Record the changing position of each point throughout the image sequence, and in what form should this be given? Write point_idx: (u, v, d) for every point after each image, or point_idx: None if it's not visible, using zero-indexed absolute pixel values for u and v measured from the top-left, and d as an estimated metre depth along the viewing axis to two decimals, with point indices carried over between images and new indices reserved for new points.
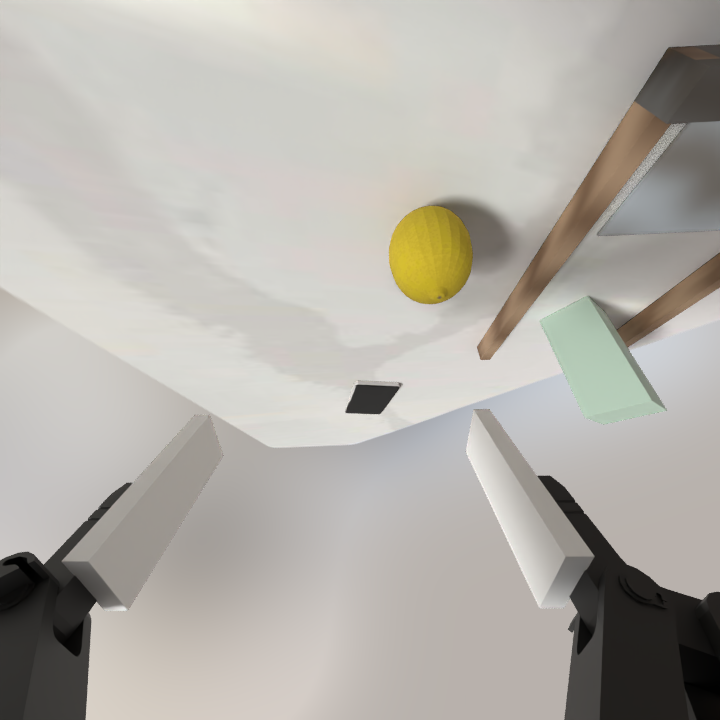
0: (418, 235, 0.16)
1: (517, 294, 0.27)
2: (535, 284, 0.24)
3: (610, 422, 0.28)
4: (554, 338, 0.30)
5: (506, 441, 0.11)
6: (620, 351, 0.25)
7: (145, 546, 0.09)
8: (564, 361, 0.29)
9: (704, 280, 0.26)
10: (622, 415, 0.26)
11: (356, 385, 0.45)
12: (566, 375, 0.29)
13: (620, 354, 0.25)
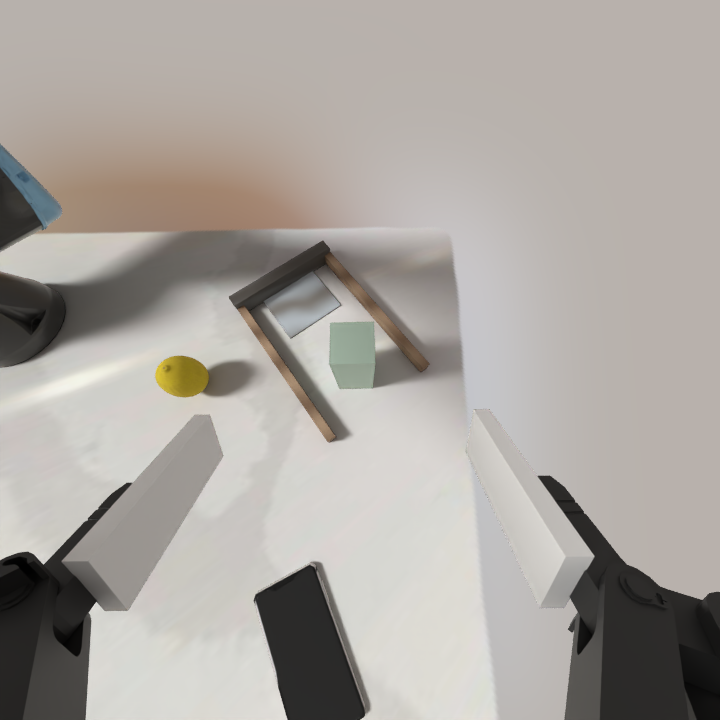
0: None
1: None
2: (275, 364, 0.40)
3: (372, 357, 0.29)
4: None
5: (506, 441, 0.11)
6: None
7: (145, 546, 0.09)
8: None
9: (371, 311, 0.43)
10: (355, 344, 0.30)
11: (255, 599, 0.32)
12: (334, 374, 0.34)
13: None
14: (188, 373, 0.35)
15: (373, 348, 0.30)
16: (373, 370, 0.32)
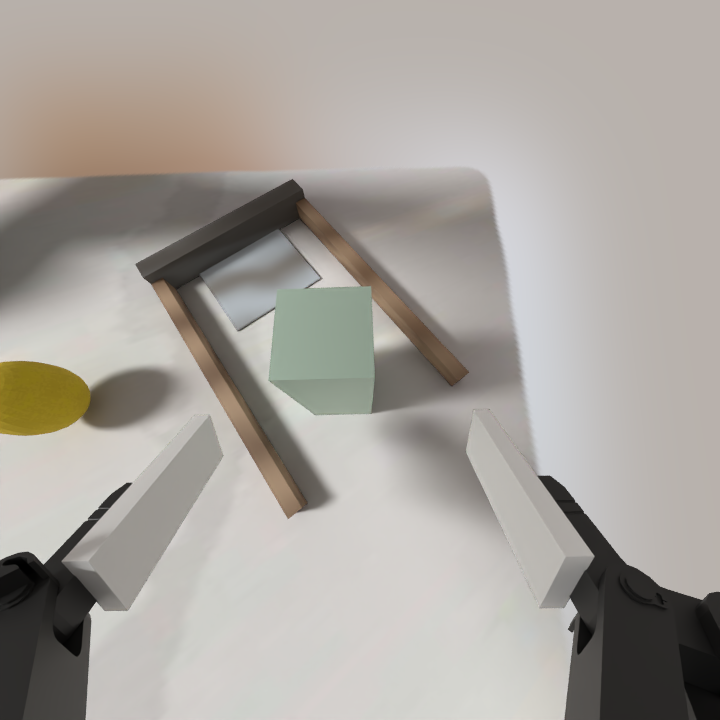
0: None
1: None
2: (205, 375, 0.23)
3: (368, 363, 0.13)
4: None
5: (506, 441, 0.11)
6: None
7: (145, 546, 0.09)
8: None
9: None
10: (329, 335, 0.13)
11: None
12: None
13: None
14: (22, 394, 0.19)
15: (370, 343, 0.13)
16: (371, 390, 0.15)
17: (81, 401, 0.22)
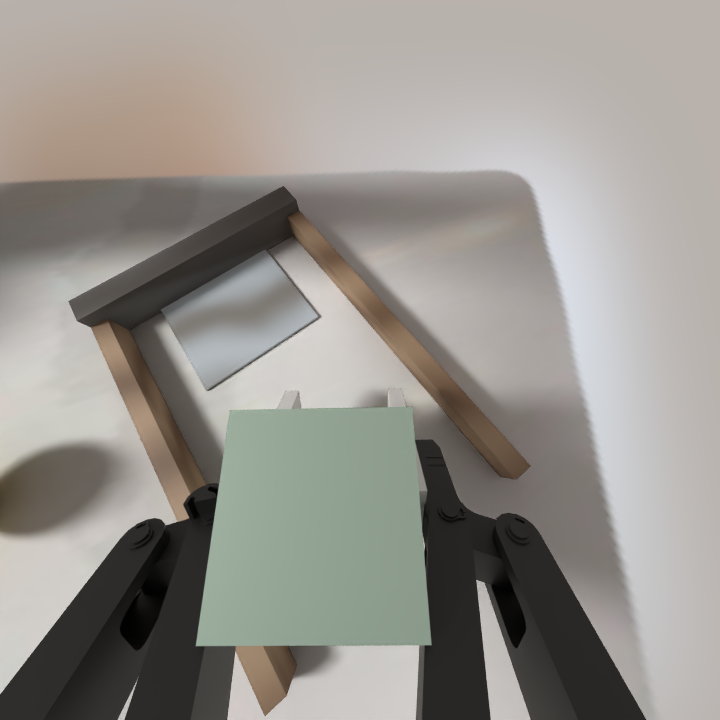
0: None
1: None
2: (154, 465, 0.16)
3: (414, 603, 0.06)
4: None
5: None
6: None
7: None
8: None
9: (383, 331, 0.20)
10: (330, 525, 0.06)
11: None
12: None
13: None
14: None
15: (417, 548, 0.06)
16: None
17: None
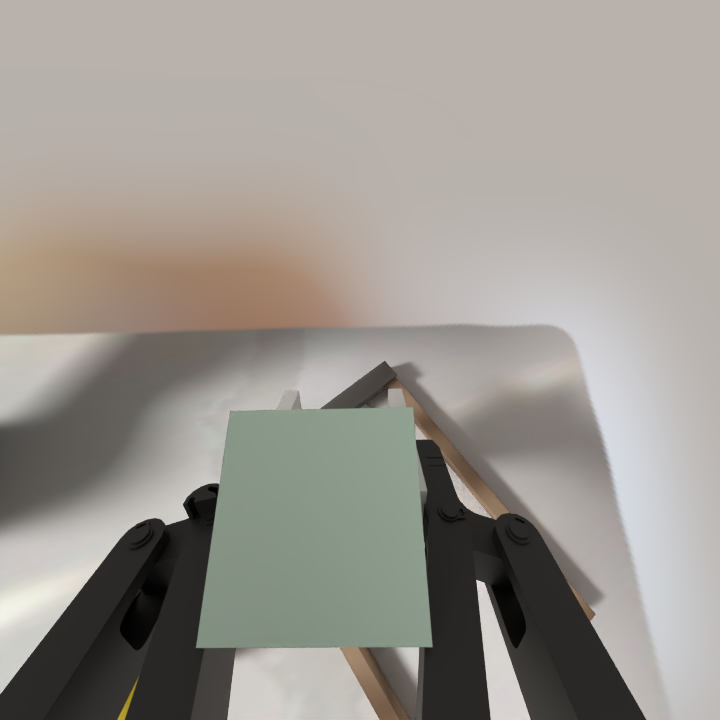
0: None
1: None
2: None
3: (415, 605, 0.06)
4: None
5: None
6: None
7: None
8: None
9: (472, 489, 0.26)
10: (331, 526, 0.06)
11: None
12: None
13: None
14: None
15: (418, 550, 0.06)
16: None
17: None
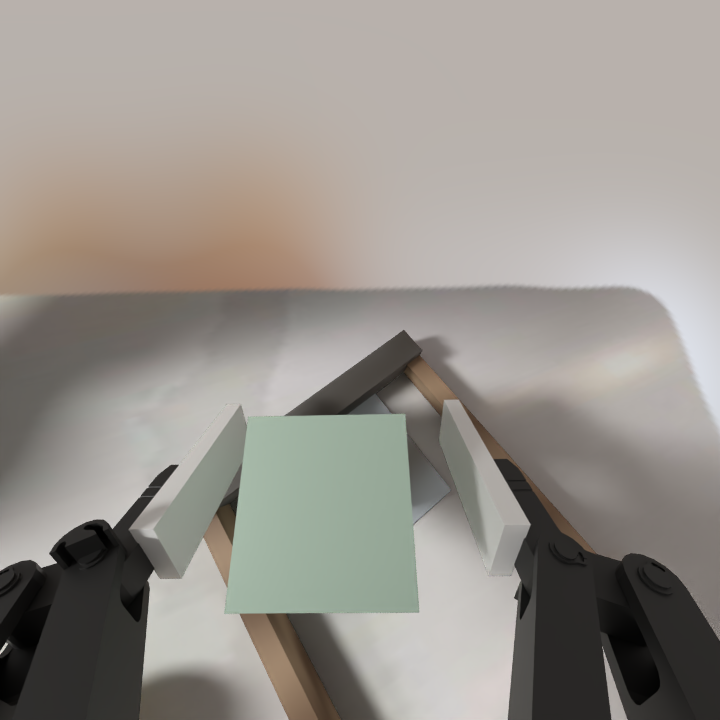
0: None
1: None
2: None
3: (405, 579, 0.07)
4: None
5: (469, 428, 0.12)
6: None
7: (193, 521, 0.10)
8: None
9: None
10: (335, 514, 0.08)
11: None
12: None
13: None
14: None
15: (408, 534, 0.07)
16: None
17: None
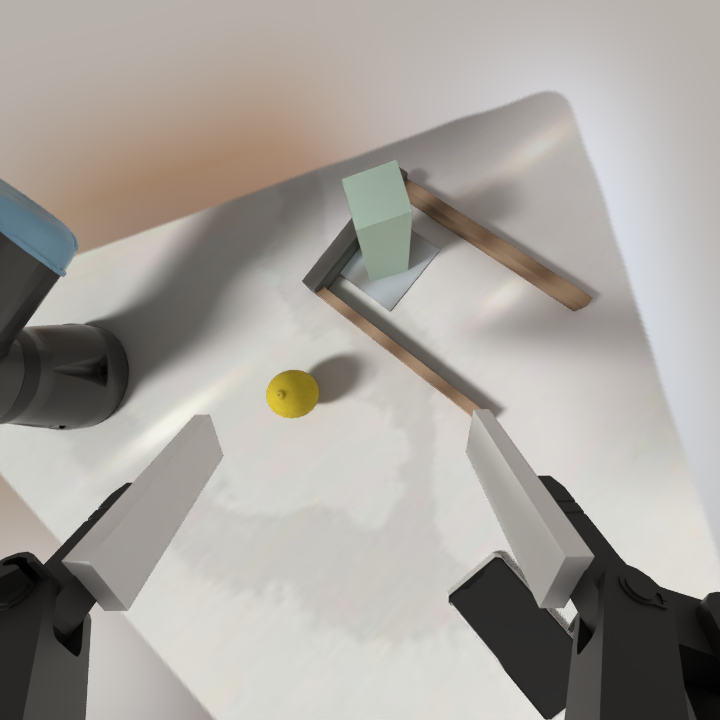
0: None
1: (406, 364, 0.33)
2: (390, 350, 0.32)
3: (406, 204, 0.23)
4: None
5: (506, 441, 0.11)
6: None
7: (145, 546, 0.09)
8: None
9: (487, 247, 0.32)
10: (380, 196, 0.23)
11: (450, 600, 0.30)
12: (362, 254, 0.28)
13: None
14: (304, 391, 0.29)
15: (405, 193, 0.23)
16: (409, 229, 0.25)
17: (318, 388, 0.32)
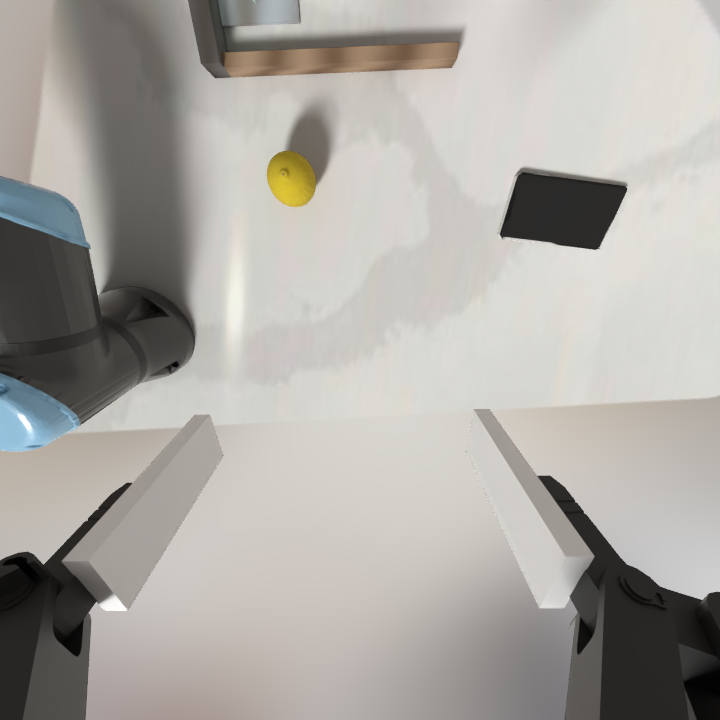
0: (272, 192, 0.32)
1: (354, 67, 0.30)
2: (331, 62, 0.29)
3: None
4: None
5: (506, 441, 0.11)
6: None
7: (145, 546, 0.09)
8: None
9: None
10: None
11: (502, 236, 0.38)
12: None
13: None
14: (298, 159, 0.30)
15: None
16: None
17: None
